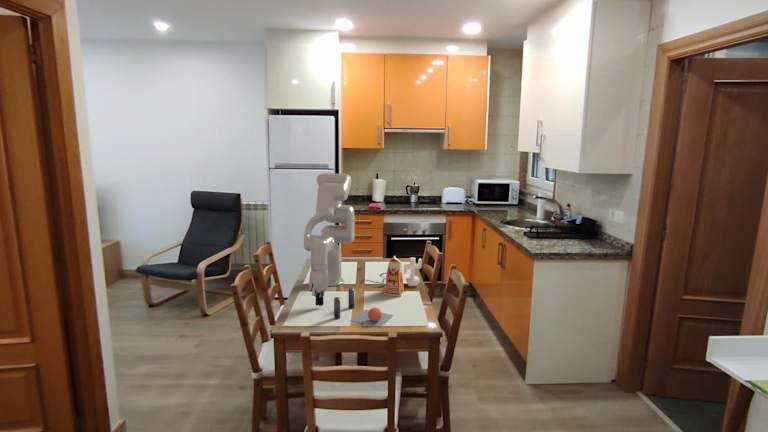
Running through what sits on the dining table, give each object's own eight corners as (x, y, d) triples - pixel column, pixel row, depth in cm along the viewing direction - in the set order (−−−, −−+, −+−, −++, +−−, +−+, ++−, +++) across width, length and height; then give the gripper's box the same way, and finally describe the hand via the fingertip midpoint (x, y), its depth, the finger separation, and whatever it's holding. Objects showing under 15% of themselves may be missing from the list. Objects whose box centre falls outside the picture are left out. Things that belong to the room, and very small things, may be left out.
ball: (379, 320, 187) (368, 325, 189) (386, 316, 192) (376, 321, 195) (373, 307, 188) (363, 311, 190) (381, 303, 193) (370, 308, 196)
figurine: (402, 282, 243) (403, 256, 240) (419, 282, 244) (420, 255, 241) (404, 287, 236) (405, 259, 233) (422, 286, 237) (423, 259, 234)
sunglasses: (380, 289, 234) (380, 279, 233) (359, 282, 244) (359, 273, 243) (400, 281, 247) (400, 272, 246) (379, 275, 256) (379, 267, 255)
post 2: (347, 308, 205) (347, 289, 204) (350, 306, 208) (350, 287, 206) (352, 309, 204) (352, 290, 203) (355, 307, 207) (355, 288, 205)
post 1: (333, 318, 194) (333, 298, 192) (336, 316, 196) (336, 296, 194) (338, 319, 193) (338, 299, 191) (341, 317, 195) (341, 297, 193)
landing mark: (350, 321, 191) (350, 320, 191) (365, 309, 204) (365, 309, 204) (380, 327, 186) (380, 326, 185) (393, 315, 198) (393, 314, 198)
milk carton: (401, 296, 222) (402, 257, 218) (383, 295, 223) (383, 256, 220) (404, 290, 230) (405, 253, 227) (386, 289, 232) (387, 251, 229)
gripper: (320, 261, 210) (321, 298, 213) (302, 269, 197) (303, 309, 200) (334, 263, 207) (334, 300, 210) (317, 271, 194) (317, 311, 197)
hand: (319, 304), depth 205 cm, fingers closed
